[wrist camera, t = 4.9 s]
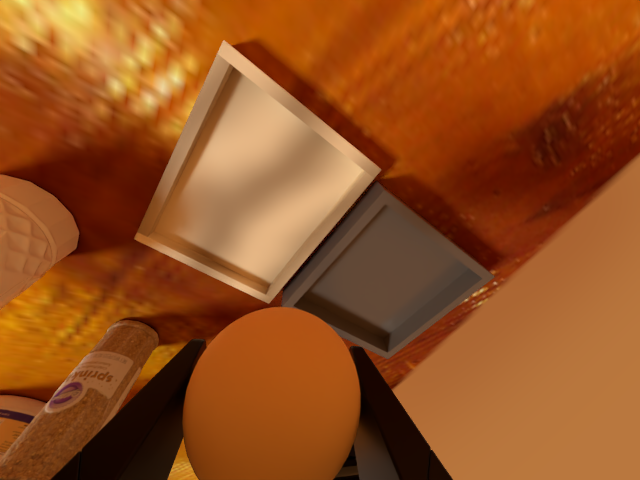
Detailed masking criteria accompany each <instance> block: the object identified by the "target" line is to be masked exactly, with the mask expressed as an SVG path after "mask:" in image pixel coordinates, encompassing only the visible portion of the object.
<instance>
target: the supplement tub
mask: <svg viewBox="0 0 640 480" xmlns="http://www.w3.org/2000/svg"><path fill="white" fill-rule="evenodd" d="M45 405H46V403H45V402H42V401H39V400H35V399H31V398H26V397H21V396H13V395H0V459H1V458H2V456H3V455H4V454H5V453H6V451H7V450H8V449H9V448H10V446H11V445H12V444H13V443H14V442H15V441H16V440H17V438H18V437H19V436H20V435H21V433H22V432H23V431H24V430H25V428H26V427H27V426H28V425H29V424H30V423H31V421H32V420H33V419H34V418H35V416H36V415H37V414H38V413H39V412H40V411H41V410H42V408H43V407H44V406H45Z"/></svg>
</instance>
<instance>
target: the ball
mask: <svg viewBox="0 0 640 480" xmlns="http://www.w3.org/2000/svg"><path fill="white" fill-rule="evenodd" d="M360 407H361V393H360V385H359V379H358V374H357V370H356V367H355V364H354V362H353V359H352V357H351V354H350V352H349V350H348V348H347V347H346V345H345V343H344V342H343V340H342V339H341V338H340V336H339V335H338V334H337V333H336V332H335V331H334V330H333V329H332V328H331V327H330V326H329V325H328V324H327V323H325V322H324V321H323V320H321V319H320V318H318V317H316V316H315V315H312V314H310V313H308V312H306V311H303V310H299V309H295V308H289V307H271V308H265V309H261V310H258V311H254V312H252V313H249V314H247V315H245V316H243V317H241V318H239V319H237V320H236V321H234V322H232V323H231V324H230V325H228V326H227V327H226V328H225V329H224V330H222V331H221V332H220V333H219V334H218V335H217V336H216V337H215V338H214V339H213V341H212V342H211V343H210V344H209V345H208V347H207V348H206V350H205V351H204V353H203V354H202V356H201V357H200V359H199V360H198V362H197V364H196V366H195V368H194V371H193V373H192V375H191V378H190V381H189V384H188V387H187V390H186V395H185V400H184V406H183V420H182V425H183V437H184V443H185V448H186V452H187V456H188V458H189V461H190V463H191V466H192V468H193V470H194V473H195V474H196V476H197V477H198V479H199V480H333V479H334V478H335V476H336V475H337V474H338V472H339V471H340V469H341V468H342V466H343V464H344V463H345V461H346V459H347V457H348V455H349V453H350V450H351V448H352V446H353V443H354V440H355V437H356V433H357V429H358V425H359V418H360Z"/></svg>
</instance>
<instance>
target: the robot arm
mask: <svg viewBox="0 0 640 480" xmlns="http://www.w3.org/2000/svg"><path fill="white" fill-rule="evenodd" d="M206 348H207V347H206V341H205V340H204V339H192V340H191V341H190V342H189V343H188V344H187V345H186V346H185V347H184V348H183V349H182V350H181V351H180V352H179V353H178V354H177V355H175V356H174V357H173V358H172V359H171V360H170V361H169V362H168V363H167V364H166V365H165V366H164V367H163V368H162V369H161V370H160V371H159V372H158V373H157V374H156V375H155V376H154V377H153V378H152V379H151V380H150V381H149V382H148V383H147V384H146V385H145V386H144V387H143V388H142V389H141V390H140V391H139V392H138V393H137V394H136V395H135V396H134V397H133V398H132V399H131V400H130V401H129V402H128V403H127V404H126V405H125V406H124V407H123V408H122V409H121V410H120V411H119V412H118V413H117V414H116V415H115V416H114V417H113V418H112V419H111V420H110V421H109V422H108V423H107V424H106V425H105V426H104V427H103V428H102V429H101V430H100V431H99V432H98V433H97V434H96V435H95V436H94V437H93V438H92V439H91V440H90V441H89V442H88V443H87V444H86V445H85V446H84V447H83V448H82V451H79V452H77V453H76V454H75V455H74V456H73V457H72V458H71V459H70V460H69V461H68V462H67V463H66V464H65V465H64V466H63V467H62V468H61V469H60V470H59V471H58V472H57V473H56V474H55V475H54V476H53V477H52V478H51V479H50V480H167V479H168V476H169V473H170V471H171V468H172V466H173V463H174V460H175V458H176V455H177V452H178V450H179V447H180V444H181V442H182V439H183V425H182V420H183V406H184V400H185V395H186V390H187V387H188V384H189V381H190V378H191V375H192V373H193V371H194V368H195V366H196V364H197V362H198V360H199V359H200V357H201V356H202V354H203V353H204V351H205V350H206ZM349 352H350V354H351V357H352V359H353V362H354V364H355V367H356V370H357V374H358V379H359V385H360V393H361V407H360V418H359V425H358V429H357V433H356V437H355V440H354V443H353V446H352V448H351V450H350V453H349V455H348V457H347V459H346V461H345V463H344V464H343V466H342V468H341V469H340V471H339V472H338V474H337V475H336V476H335V478H334V479H333V480H453V479H452V478H451V476H450V475H449V473H448V472H447V471H446V469H445V468H444V466H443V465H442V463H441V462H440V460H439V459H438V458H437V456H436V455H435V453H434V452H433V450H431V449H430V446H429V444H428V443H427V441H426V440H425V439H424V437H423V436H422V434H421V433H420V431H419V430H418V428H417V427H416V425H415V424H414V422H413V421H412V420H411V418H410V417H409V415H408V414H407V412H406V411H405V409H404V408H403V406H402V405H401V403H400V402H399V401H398V399H397V398H396V396H395V395H394V393H393V392H392V390H391V389H390V387H389V386H388V384H387V383H386V381H385V380H384V378H383V377H382V376H381V374H380V373H379V371H378V370H377V368H376V367H375V365H374V364H373V362H372V361H371V359H370V358H369V356H368V355H367V354H366V352H365V351H364V349H363V348H362V347H360V346H351V347H350V349H349Z"/></svg>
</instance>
